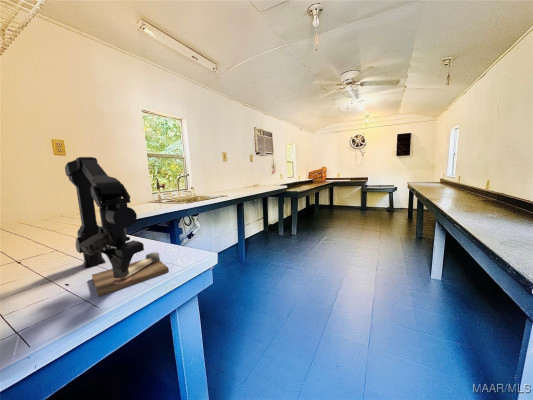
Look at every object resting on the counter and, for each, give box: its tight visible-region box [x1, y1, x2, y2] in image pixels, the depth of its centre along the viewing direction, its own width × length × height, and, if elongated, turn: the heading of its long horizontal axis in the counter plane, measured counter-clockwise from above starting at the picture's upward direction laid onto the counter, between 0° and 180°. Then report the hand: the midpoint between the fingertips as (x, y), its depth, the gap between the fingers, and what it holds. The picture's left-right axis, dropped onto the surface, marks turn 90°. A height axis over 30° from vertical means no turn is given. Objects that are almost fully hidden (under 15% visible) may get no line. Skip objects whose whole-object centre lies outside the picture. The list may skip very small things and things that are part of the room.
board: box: [91, 259, 170, 297], centre depth 75 cm, size 15×20×2 cm
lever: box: [110, 251, 161, 279], centre depth 75 cm, size 18×4×8 cm, turn 169°
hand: (120, 270), depth 68 cm, fingers closed on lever, 4 cm apart
